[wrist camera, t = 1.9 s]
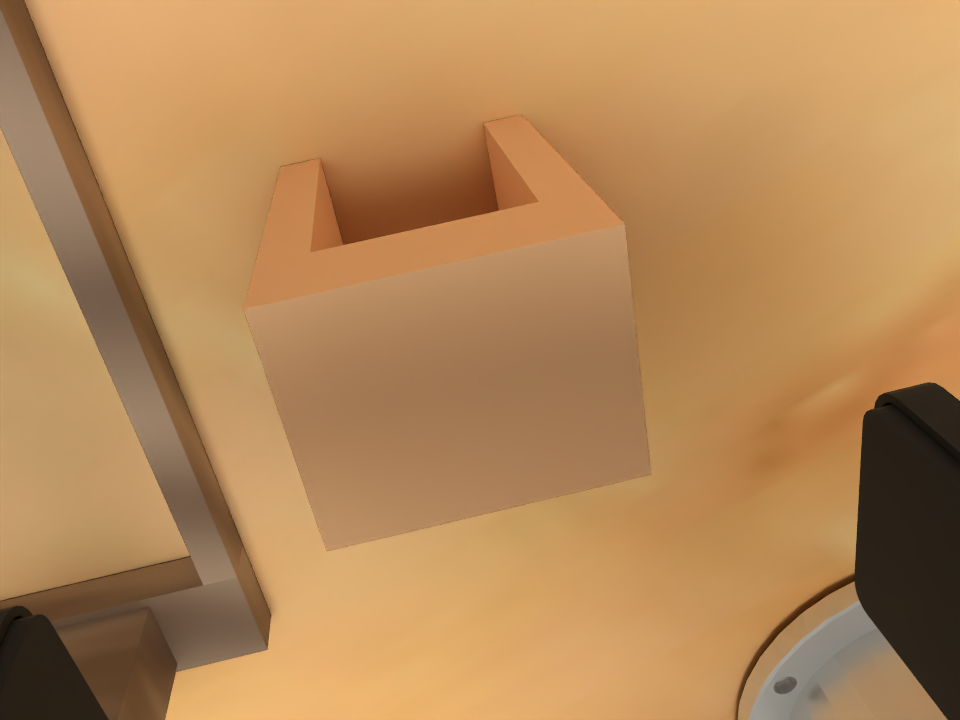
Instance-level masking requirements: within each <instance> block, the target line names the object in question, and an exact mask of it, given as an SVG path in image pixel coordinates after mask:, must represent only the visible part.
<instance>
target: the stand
mask: <svg viewBox="0 0 960 720" xmlns="http://www.w3.org/2000/svg"><path fill="white" fill-rule="evenodd" d="M0 128H1V130H2V132H3V135H4V137H5V139H6V141H7V144H8V146H9V148H10V150H11V153H12V155H13V157H14V159H15V162H16V164H17V166H18V168H19V171H20V173H21V175H22V177H23V180H24V182H25V184H26V186H27V189H28V191H29V193H30V195H31V198H32V200H33V202H34V204H35V207H36V209H37V211H38V214H39V216H40V218H41V220H42V223H43V225H44V227H45V229H46V232H47V234H48V236H49V238H50V241H51V243H52V245H53V247H54V250H55V252H56V254H57V256H58V259H59V261H60V263H61V265H62V268H63V270H64V272H65V274H66V277H67V279H68V281H69V283H70V286H71V288H72V290H73V292H74V295H75V297H76V299H77V301H78V304H79V306H80V308H81V310H82V313H83V315H84V317H85V319H86V322H87V324H88V326H89V329H90V331H91V333H92V335H93V338H94V340H95V342H96V344H97V347H98V349H99V351H100V353H101V356H102V358H103V360H104V362H105V365H106V367H107V369H108V371H109V374H110V376H111V378H112V380H113V383H114V385H115V387H116V389H117V392H118V394H119V396H120V398H121V401H122V403H123V405H124V407H125V410H126V412H127V414H128V416H129V419H130V421H131V423H132V425H133V428H134V430H135V432H136V434H137V437H138V439H139V441H140V444H141V446H142V448H143V450H144V453H145V455H146V457H147V459H148V462H149V464H150V466H151V468H152V471H153V473H154V475H155V477H156V480H157V482H158V484H159V486H160V489H161V491H162V493H163V495H164V498H165V500H166V502H167V504H168V507H169V509H170V511H171V513H172V516H173V518H174V520H175V522H176V525H177V527H178V529H179V531H180V534H181V536H182V538H183V540H184V543H185V545H186V547H187V549H188V552H189V554H190V556H191V557H188V558H183V559H179V560H175V561H171V562H166V563H162V564H158V565H154V566H149V567H145V568H141V569H137V570H132V571H128V572H124V573H120V574H115V575H111V576H107V577H103V578H98V579H94V580H90V581H86V582H81V583H77V584H73V585H69V586H64V587H60V588H56V589H52V590H47V591H43V592H39V593H35V594H30V595H26V596H22V597H18V598H13V599H9V600H5V601H1V602H0V609H5V608H9V607H13V606H23V607H25V608H27V609H28V610H29V611H30V612H31V613H32V615H37V614H43V615H44V616H46V617H47V618H48V619H49V621H50V622H51V623H52V625H53V627H54V628H55V630H56V632H57V633H58V635H59V637H60V638H61V640H62V642H63V644H64V645H65V647H66V649H67V650H68V652H69V654H70V655H71V657H72V659H73V660H74V662H75V664H76V665H77V667H78V669H79V670H80V672H81V674H82V675H83V677H84V679H85V681H86V682H87V684H88V686H89V687H90V689H91V691H92V692H93V694H94V696H95V697H96V699H97V701H98V702H99V704H100V706H101V707H102V709H103V711H104V713H105V714H106V716H107V718H108V719H109V720H165V717H166V713H167V709H168V704H169V700H170V695H171V691H172V686H173V682H174V678H175V673H176V672H178V671H182V670H186V669H190V668H194V667H198V666H203V665H207V664H211V663H215V662H219V661H223V660H227V659H232V658H236V657H240V656H244V655H248V654H252V653H256V652H261V651H265V650H267V649H268V639H269V630H270V620H271V614H270V612H269V609H268V607H267V604H266V602H265V599H264V597H263V594H262V592H261V589H260V587H259V584H258V582H257V579H256V577H255V574H254V572H253V569H252V567H251V564H250V562H249V559H248V557H247V554H246V552H245V549H244V547H243V544H242V542H241V539H240V537H239V535H238V532H237V530H236V527H235V525H234V522H233V520H232V517H231V515H230V512H229V510H228V507H227V505H226V502H225V500H224V497H223V495H222V492H221V490H220V487H219V485H218V482H217V480H216V477H215V475H214V472H213V470H212V467H211V465H210V462H209V460H208V457H207V455H206V453H205V450H204V448H203V445H202V443H201V440H200V438H199V435H198V433H197V430H196V428H195V425H194V423H193V420H192V418H191V415H190V413H189V410H188V408H187V405H186V403H185V400H184V398H183V395H182V393H181V390H180V388H179V385H178V383H177V380H176V378H175V376H174V373H173V371H172V368H171V366H170V363H169V361H168V358H167V356H166V353H165V351H164V348H163V346H162V343H161V341H160V338H159V336H158V333H157V331H156V328H155V326H154V323H153V321H152V318H151V316H150V313H149V311H148V308H147V306H146V303H145V301H144V299H143V296H142V294H141V291H140V289H139V286H138V284H137V281H136V279H135V276H134V274H133V271H132V269H131V266H130V264H129V261H128V259H127V256H126V254H125V251H124V249H123V246H122V244H121V241H120V239H119V236H118V234H117V231H116V229H115V226H114V224H113V221H112V219H111V217H110V214H109V212H108V209H107V207H106V204H105V202H104V199H103V197H102V194H101V192H100V189H99V187H98V184H97V182H96V179H95V177H94V174H93V172H92V169H91V167H90V164H89V162H88V159H87V157H86V154H85V152H84V149H83V147H82V144H81V142H80V140H79V137H78V135H77V132H76V130H75V127H74V125H73V122H72V120H71V117H70V115H69V112H68V110H67V107H66V105H65V102H64V100H63V97H62V95H61V92H60V90H59V87H58V85H57V82H56V80H55V77H54V75H53V72H52V70H51V67H50V65H49V63H48V60H47V58H46V55H45V53H44V50H43V48H42V45H41V43H40V40H39V38H38V35H37V33H36V30H35V28H34V25H33V23H32V20H31V18H30V15H29V13H28V10H27V8H26V5H25V3H24V0H0Z"/></svg>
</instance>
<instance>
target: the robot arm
mask: <svg viewBox="0 0 960 720" xmlns="http://www.w3.org/2000/svg"><path fill="white" fill-rule="evenodd" d="M854 580H855V581H854V582H852V583H850V584H848V585H846V586H844V587H842V588H840V589H838V590H836V591H834V592H832V593H830V594H829V595H827V596H826V597H824V598H823V599H821V600H820V601H819V602H817V603H816V604H814V605H813V606H811V607H810V608H808V609H807V610H805V611H804V612H803V613H801V614H800V615H799V616H798V617H797V618H796V619H795V620H794V621H793V622H792V623H790V624H789V625H788V626H787V627H786V628H785V629H784V630H783V631H782V632H780V633H779V635H778V636H777V637H776V638H775V640H774V641H773V642H772V643H771V644H770V646H769V647H768V648H767V649H766V651H765V652H764V653H763V654H762V655H761V657H760V658H759V660H758V662H757V664H756V665H755V667H754V669H753V671H752V672H751V674H750V676H749V678H748V679H747V681H746V684H745V687H744V690H743V694H742V697H741V700H740V703H739V711H738V720H960V401H959V400H958V399H957V398H955V397H954V396H953V395H952V394H950V393H949V392H948V391H947V390H945V389H944V388H943V387H941V386H939V385H937V384H936V383H924V384H920V385H916V386H912V387H908V388H904V389H899V390H895V391H891V392H887V393H884V394H882V395H880V396H879V397H878V398H877V400H876V402H875V407H874V409H871V410H869V411H867V412H866V413H865V415H864V419H863V429H862V447H861V466H860V485H859V504H858V522H857V541H856V560H855V578H854ZM0 720H109V719H108V718H107V716H106V714H105V713H104V711H103V709H102V707H101V706H100V704H99V702H98V701H97V699H96V697H95V696H94V694H93V692H92V691H91V689H90V687H89V686H88V684H87V682H86V681H85V679H84V677H83V675H82V674H81V672H80V670H79V669H78V667H77V665H76V664H75V662H74V660H73V659H72V657H71V655H70V654H69V652H68V650H67V649H66V647H65V645H64V644H63V642H62V640H61V638H60V637H59V635H58V633H57V632H56V630H55V628H54V627H53V625H52V623H51V622H50V621H49V619H48V618H47V617H46V616H44V615H43V614H37V615H32V613H31V612H30V611H29V610H28V609H27V608H25V607H23V606H13V607H9V608H5V609H0Z"/></svg>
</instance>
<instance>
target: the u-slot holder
mask: <svg viewBox="0 0 960 720" xmlns="http://www.w3.org/2000/svg"><path fill="white" fill-rule="evenodd" d="M483 125H484V130H485V136H486V142H487V147H488V153H489V159H490V164H491V170H492V176H493V181H494V187H495V193H496V198H497V204H498V210H499V211H495V212H491V213H486V214H482V215H477V216H473V217H468V218H464V219H459V220H455V221H450V222H446V223H441V224H437V225H432V226H428V227H423V228H419V229H414V230H410V231H405V232H401V233H396V234H391V235H387V236H382V237H378V238H373V239H369V240H364V241H360V242H355V243H351V244H346V245H343V241H342V238H341V234H340V230H339V227H338V223H337V219H336V216H335V212H334V208H333V205H332V201H331V197H330V194H329V190H328V186H327V182H326V179H325V175H324V171H323V168H322V164H321V160H320V158H319V159H314V160H310V161H305V162H300V163H296V164H291V165H287V166H282V167H280V171H279V175H278V179H277V183H276V186H275V190H274V194H273V198H272V202H271V205H270V209H269V213H268V217H267V221H266V225H265V228H264V232H263V236H262V240H261V244H260V247H259V251H258V255H257V259H256V263H255V266H254V270H253V274H252V278H251V282H250V286H249V289H248V293H247V297H246V301H245V305H244V308H243V310H244V313H245V316H246V319H247V322H248V324H249V327H250V330H251V333H252V336H253V339H254V342H255V345H256V348H257V351H258V353H259V356H260V359H261V362H262V365H263V368H264V371H265V374H266V377H267V380H268V383H269V385H270V388H271V391H272V394H273V397H274V400H275V403H276V406H277V409H278V412H279V415H280V417H281V420H282V423H283V426H284V429H285V432H286V435H287V438H288V441H289V444H290V446H291V449H292V452H293V455H294V458H295V461H296V464H297V467H298V470H299V473H300V476H301V478H302V481H303V484H304V487H305V490H306V493H307V496H308V499H309V502H310V505H311V508H312V510H313V513H314V516H315V519H316V522H317V525H318V528H319V531H320V534H321V537H322V539H323V542H324V545H325V548H326V551H331V550H335V549H339V548H343V547H348V546H352V545H356V544H360V543H364V542H369V541H373V540H377V539H381V538H386V537H390V536H394V535H398V534H402V533H407V532H411V531H415V530H419V529H424V528H428V527H432V526H436V525H441V524H445V523H449V522H453V521H457V520H462V519H466V518H470V517H474V516H479V515H483V514H487V513H491V512H495V511H500V510H504V509H508V508H512V507H517V506H521V505H525V504H529V503H533V502H538V501H542V500H546V499H550V498H555V497H559V496H563V495H567V494H572V493H576V492H580V491H584V490H588V489H593V488H597V487H601V486H605V485H610V484H614V483H618V482H622V481H626V480H631V479H635V478H639V477H643V476H648V475H651V469H650V459H649V449H648V440H647V430H646V421H645V411H644V402H643V392H642V383H641V373H640V364H639V354H638V344H637V335H636V325H635V316H634V306H633V297H632V287H631V278H630V268H629V259H628V249H627V240H626V230H625V224H624V223H623V221H622V220H621V219H620V218H619V217H618V216H617V215H616V214H615V213H614V212H613V211H612V210H611V209H610V208H609V207H608V206H607V204H606V203H605V202H604V201H603V200H602V199H601V198H600V197H599V196H598V195H597V194H596V193H595V192H594V191H593V190H592V189H591V188H590V186H589V185H588V184H587V183H586V182H585V181H584V180H583V179H582V178H581V177H580V176H579V175H578V174H577V173H576V172H575V171H574V170H573V168H572V167H571V166H570V165H569V164H568V163H567V162H566V161H565V160H564V159H563V158H562V157H561V156H560V155H559V154H558V153H557V151H556V150H555V149H554V148H553V147H552V146H551V145H550V144H549V143H548V142H547V141H546V140H545V139H544V138H543V137H542V136H541V135H540V133H539V132H538V131H537V130H536V129H535V128H534V127H533V126H532V125H531V124H530V123H529V122H528V121H527V120H526V119H525V118H524V117H523V115H517V116H513V117H508V118H503V119H499V120H494V121H489V122H485V123H483Z"/></svg>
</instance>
